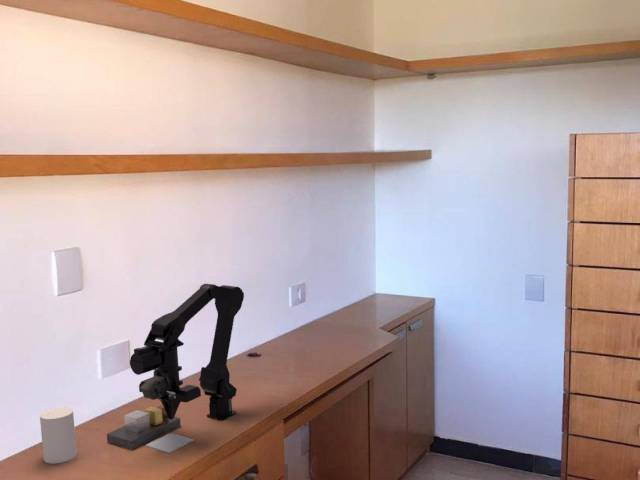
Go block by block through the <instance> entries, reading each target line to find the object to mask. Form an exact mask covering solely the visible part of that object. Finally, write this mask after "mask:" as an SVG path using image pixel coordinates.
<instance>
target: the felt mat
mask: <svg viewBox="0 0 640 480" xmlns="http://www.w3.org/2000/svg"><path fill="white" fill-rule="evenodd" d="M191 441H192V442H194V439H192V438H190V437H186V436H182V435H180V434H176V433H171V432H168V433H166V434H164V435H162V436H160V437H158V438H156V439H154V440H152V441H150V442H148V443H146V444H145V447H147V448H150V449H153V450H156V451H161V452H163V453H165V454H166V453H167V454H171V453H173V452H176V451H177V450H179V449H181V448H182V446H183V447H184V445H185V446H186V445H188V444H190V443H192V442H191ZM189 442H190V443H189ZM187 443H188V444H187ZM180 447H181V448H180Z"/></svg>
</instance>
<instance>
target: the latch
mask: <svg viewBox="0 0 640 480" xmlns="http://www.w3.org/2000/svg"><path fill="white" fill-rule="evenodd" d="M144 412H146V413H149V421H150V424H152V425H159V424H161V423H162V409H159V408H157V407H154V406H150V407H148V408H145V411H144Z"/></svg>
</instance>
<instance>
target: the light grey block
mask: <svg viewBox="0 0 640 480" xmlns="http://www.w3.org/2000/svg"><path fill="white" fill-rule="evenodd" d="M123 418H124V426H125V429H127V430H130V431H134V432H137V433H138V432H140V431H142V430H144V429H146V428H148V427H150V421H149V413H146V412H145V411H142V410H138V409H136V410H134V411H131V412H128V413H127V414H124V415H123Z"/></svg>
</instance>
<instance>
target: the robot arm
mask: <svg viewBox="0 0 640 480" xmlns="http://www.w3.org/2000/svg"><path fill="white" fill-rule="evenodd" d="M244 298H245V293H244V291H243V289H242V288H241V287H239V286H234V285H233V286H232V285H226V284H223V285H220V286H219V285H217V284H215V283H214V284H212V283H204V284H201V285H200V287H199V288H198V289H197V290H195V292H194V293H193V294H192V295H190V297H188V298H187V299H186V300H185V301H184V302H183V303H181V304H180V305H179V306H178V307H177V308H176V309H175V310H173V311H171V312H168V313H165V314H163V315H161V316H160V317H158V318H157V319H155V320H154V321H153V322H152V324H151V326H150V330H149V333H148V334H147V336H146V339H145V340H144V343H143V347H142V346H141V347H136V348H134V349H133V353H132V355H131V356H130V360H129V366H130V369H131V371H132V372H133V374H134V375H135V374H136V375H137V376H140V375H143V374H146V373H149V372H151V371H153V376H152V377H149V378H146V379H143V380H141V381H140V383H139V385H138V389H139V390H138V391H139V392H140V393H142V395H143V397H144V398H145V399H149V400H152V401H153V400H159V401H160V402H161V405H163V406H164V409H165V411H166V413H167V415H168V418H169V419H171V420H172V419H174V417H176V413H177V412H178V409H179V406H180V404H181V403H189V402H191V401H193V400H196V399H198V398H200V397H202V394H201V393H202V392H201V390H202V391H203V393H204V395H205V396H208V397H209V398H208V399H209V402H208V403H209V404H208V407H209V413H207V414H206V417H207V418H210V419H214V420H218V421H224V420H226V419H228V418H231V417H232V416H234V415H236V414H237V411H235V410H233V402H232V400H233V398H234V397H236V396H237V388H236V387H235V386H234V385H233V384H232V383H230V374H231V373H230V372H229V369H228V365H227V363H228V357H229V351H230V346H231V345H230V344H231V338H232V332H233V327H234V322H235V321H234V320H235V316H237V314H238V313H239V312H240V310H241V308H242V305H243V301H244ZM213 300H214V306H215V310H216V312H217V318H216V324H215V331H214V337H213V340H212V341H213V342H212V347H211V354H210V359H209V363H208V364H207V365H206V366H201V369H200V375H199V376H200V377H199V379H198V381H199V386H200V387H199V386H198V385H197V386H196V385H192V384H187V385H185V386H181V385H183V383H184V382H183V380H181V379H180V371H182V370H183V368H182V367H183V366H181V365H179V356H178V355H179V354H178V351H179V350H178V347H181V346H184V342H183V341H181V340H180V339H179V337H180V336H181V335H182V334H183V333H184V331H185V328H186V324H188V322H190V320H191V319H192V318H194V317H195V316H196V315H197V314H199V312H200V311H201V310H202V309H204V308H205V306H207V305H208V304H209V303H210V302H212V301H213ZM158 340H159V341H158Z"/></svg>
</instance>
